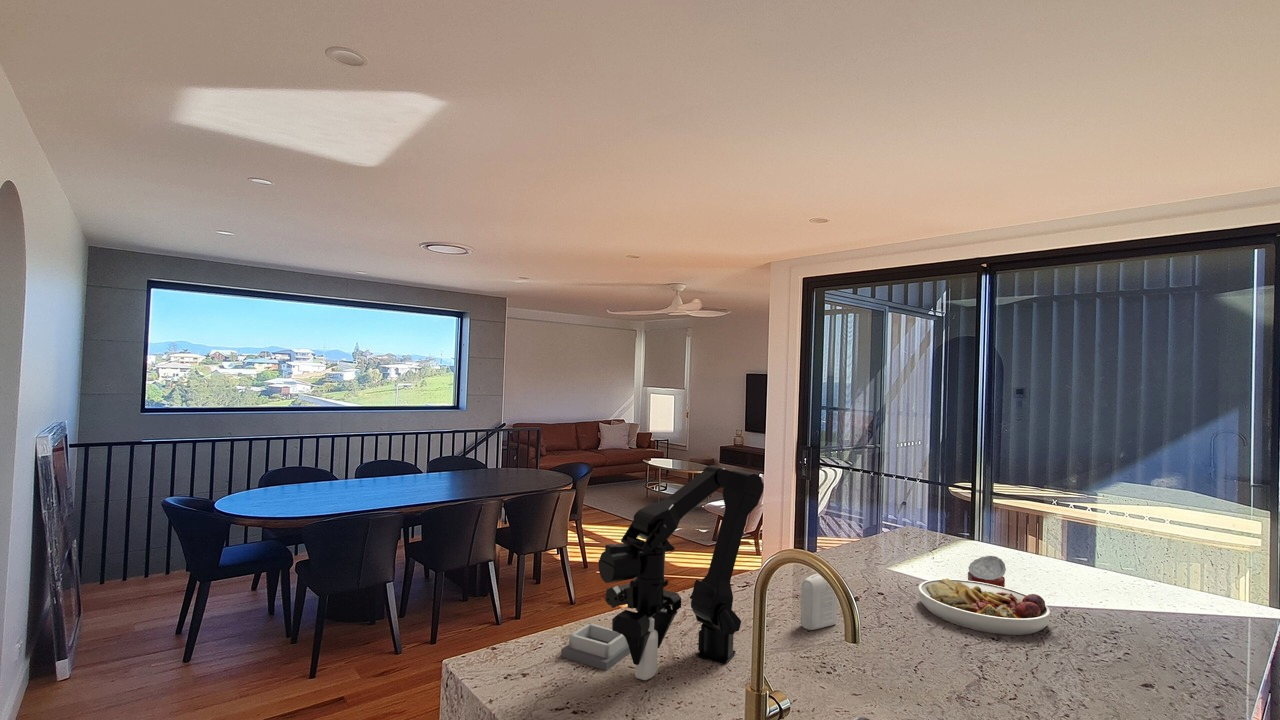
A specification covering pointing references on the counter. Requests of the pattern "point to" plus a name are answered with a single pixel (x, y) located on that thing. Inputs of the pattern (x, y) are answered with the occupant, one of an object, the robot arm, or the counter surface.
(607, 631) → the grey square bottle holder
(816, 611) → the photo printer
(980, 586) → the bowl
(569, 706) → the counter surface
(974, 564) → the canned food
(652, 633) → the eye dropper bottle
